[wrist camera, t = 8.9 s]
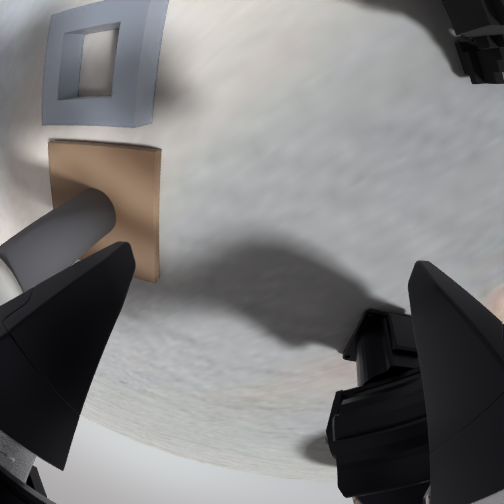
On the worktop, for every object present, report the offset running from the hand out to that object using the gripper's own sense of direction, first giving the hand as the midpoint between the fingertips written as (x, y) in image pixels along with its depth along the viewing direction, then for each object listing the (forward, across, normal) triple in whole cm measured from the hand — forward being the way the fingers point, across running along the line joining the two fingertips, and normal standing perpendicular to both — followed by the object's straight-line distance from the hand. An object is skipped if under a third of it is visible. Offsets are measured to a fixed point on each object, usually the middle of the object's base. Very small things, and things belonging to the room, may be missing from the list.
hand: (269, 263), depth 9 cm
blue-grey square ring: (+14, +14, -8) cm, 22 cm away
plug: (+12, +16, +5) cm, 21 cm away
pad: (+14, +16, +5) cm, 22 cm away
